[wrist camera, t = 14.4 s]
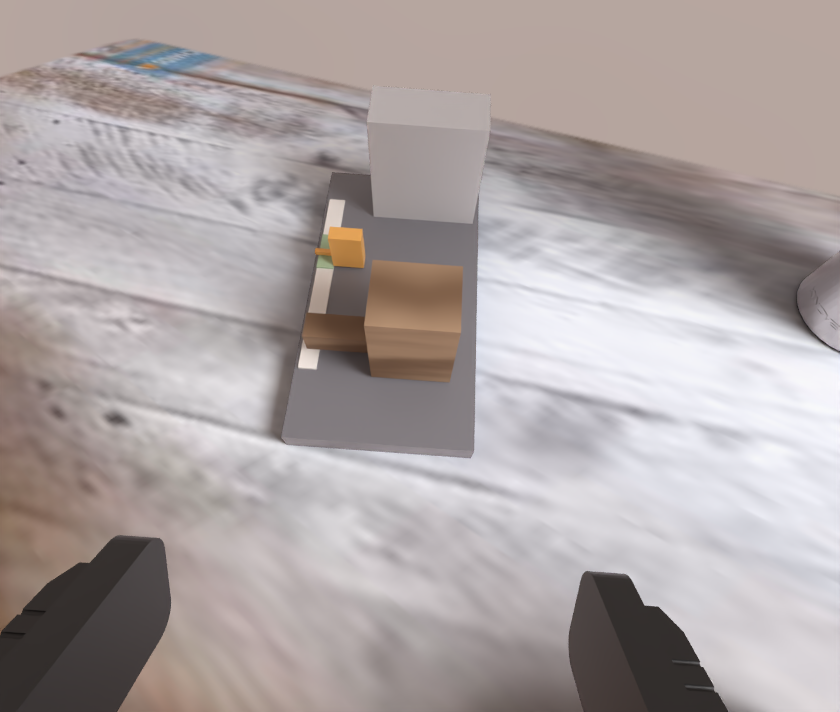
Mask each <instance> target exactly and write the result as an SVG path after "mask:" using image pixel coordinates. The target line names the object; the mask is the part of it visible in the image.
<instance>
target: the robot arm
mask: <svg viewBox="0 0 840 712" xmlns="http://www.w3.org/2000/svg"><path fill="white" fill-rule="evenodd" d="M797 304H798V308H799V311H800V313H801V315H802V317H803V320H804V321H805V323H806V324H807V325H808V327H809V328H810V329H811V330H812V331H813V332H814V333H815V334H816V335H817V336H818V337H819V338H820V339H821V340H822V341H824V342H825V343H826V344H828V345H829V346H831V347H833V348H835V349H836V350H838V351H840V251H839V252H838V253H837V254H835V255H834V256H833V257H832V258H830V259H829V260H828V261H827V262H825V263H824V264H823V265H821V266H820V267H819V268H818V269H816V270H815V271H814V272H813V273H811V274H810V275H809V276H808V277H806V278H805V279H804V280H803V281H802V283H801V284H800V286H799V289H798V292H797ZM170 609H171V596H170V588H169V579H168V571H167V563H166V555H165V547H164V543H163V541H162V540H161V539H160V538H150V537H137V536H123V535H119V536H116V537H114V538H113V539H111V540H110V541H109V542H108V543H107V544H106V546H105V547H104V548H103V549H102V550H101V551H100V552H99V553H98V554H97V556H96V557H95V558H94V559H93V560H92V561H91V562H90V563H78V564H77V565H75V566H74V567H72V568H71V569H69V570H67V571H66V572H64V573H63V574H61V575H60V576H58V577H57V578H55V579H54V580H52V581H50V582H49V583H47V584H46V586H45V587H44V588H43V589H42V590H41V591H40V592H39V593H38V594H37V595H36V596H35V597H34V598H33V599H32V600H31V601H30V602H29V603H28V604H27V605H26V606H25V607H24V608H23V611H22V613H21V615H17V616H16V617H15V618H14V619H13V620H12V621H11V622H10V623H9V624H8V625H7V626H6V627H5V628H4V629H3V630H2V631H1V635H0V712H117V711H118V709H119V707H120V706H121V704H122V702H123V701H124V699H125V697H126V696H127V694H128V692H129V691H130V689H131V687H132V686H133V684H134V682H135V681H136V679H137V677H138V676H139V674H140V672H141V671H142V669H143V667H144V666H145V664H146V662H147V661H148V659H149V657H150V656H151V654H152V652H153V651H154V649H155V647H156V646H157V644H158V642H159V640H160V639H161V637H162V635H163V633H164V631H165V628H166V626H167V622H168V619H169V615H170ZM569 657H570V664H571V668H572V672H573V676H574V679H575V683H576V686H577V690H578V693H579V696H580V700H581V703H582V707H583V710H584V712H728V710H727V709H726V707H725V705H724V703H723V702H722V700H721V698H720V696H719V694H718V693H715V691H714V686H713V684H712V682H711V680H710V678H709V677H708V675H707V673H706V671H705V670H704V668H703V667H701V666H700V661H699V659H698V657H697V655H696V654H695V652H694V650H693V648H692V646H691V645H690V643H689V641H688V639H687V637H686V636H685V634H684V632H683V631H682V630H681V629H680V628H679V627H678V626H677V625H676V624H675V623H674V622H673V621H672V620H671V619H670V618H669V617H668V616H667V615H666V614H665V613H664V612H663V611H662V610H661V609H660V608H659V607H654V606H644V604H643V602H642V600H641V598H640V596H639V594H638V592H637V590H636V588H635V586H634V584H633V582H632V580H631V579H630V577H629V576H628V575H626V574H617V573H604V572H590V571H586V572H584V574H583V575H582V578H581V582H580V586H579V591H578V595H577V599H576V604H575V608H574V613H573V617H572V622H571V626H570V631H569Z"/></svg>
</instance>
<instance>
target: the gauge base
mask: <svg viewBox="0 0 840 712" xmlns="http://www.w3.org/2000/svg"><path fill="white" fill-rule="evenodd" d="M490 97H491V95H490V94H478V93H466V92H451V91H439V90H425V89H412V88H399V87H385V86H373V87H372V93H371V99H370V105H369V111H368V118H367V132H368V145H369V159H370V172H371V175H361V174H348V173H334V172H332V176H331V181H330V186H329V192H328V197H327V202H326V207H325V212H324V217H323V223H322V228H321V233H320V238H319V243H318V248H323V249H330V247H329V242H328V234H329V229H330V227H344V228H357V229H363V238H364V247H365V264H364V268H356V267H342V266H333V261H332V257H331V256H327V255H316V259H315V264H314V269H313V275H312V280H311V285H310V290H309V295H308V300H307V306H306V311H305V316H304V321H303V326H302V332H301V337H300V342H299V347H298V352H297V358H296V363H295V368H294V373H293V378H292V383H291V389H290V394H289V399H288V404H287V409H286V415H285V420H284V425H283V430H282V435H281V438H282V439H283V440H284V442H285V443H286V444H287V445H298V446H311V447H325V448H339V449H352V450H366V451H380V452H394V453H407V454H421V455H435V456H449V457H462V458H471V456H472V454H473V452H474V425H475V369H476V313H477V257H478V201H479V188H480V183H481V177H482V172H483V167H484V162H485V157H486V151H487V146H488V141H489V136H490V107H491V104H490V103H491V102H490V101H491V98H490ZM373 260H383V261H396V262H410V263H424V264H437V265H451V266H463V285H462V315H461V335H460V339H459V343H458V348H457V352H456V357H455V361H454V365H453V370H452V374H451V379H450V383H449V382H436V381H422V380H408V379H395V378H381V377H371V372H370V364H369V357H368V353H360V352H346V351H332V350H319V349H307V348H306V345H305V343H304V340H303V337H302V334H303V329H304V324H305V318H306V313H307V312H308V313H321V314H335V315H348V316H362V317H365V315H366V307H367V299H368V292H369V284H370V276H371V269H372V261H373Z"/></svg>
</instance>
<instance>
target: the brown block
mask: <svg viewBox="0 0 840 712" xmlns="http://www.w3.org/2000/svg"><path fill="white" fill-rule="evenodd" d="M462 285H463V266H451V265H437V264H424V263H410V262H396V261H383V260H373V261H372V269H371V276H370V284H369V292H368V299H367V307H366V315H365V317H362V316H348V315H335V314H321V313H308V312H307V313H306V318H305V324H304V329H303V334H302V337H303V340H304V343H305V345H306V348H307V349H319V350H332V351H346V352H360V353H368V357H369V364H370V372H371V377H381V378H395V379H408V380H422V381H436V382H449V383H450V379H451V374H452V370H453V365H454V361H455V357H456V352H457V348H458V343H459V339H460V335H461V315H462Z"/></svg>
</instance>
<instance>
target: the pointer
mask: <svg viewBox="0 0 840 712" xmlns="http://www.w3.org/2000/svg"><path fill="white" fill-rule="evenodd" d="M328 242H329V247H330V249H323V248H315V254H316V255H327V256H331V257H332V261H333V266H342V267H356V268H364V264H365V247H364V238H363V229H357V228H344V227H330V229H329V234H328Z"/></svg>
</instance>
